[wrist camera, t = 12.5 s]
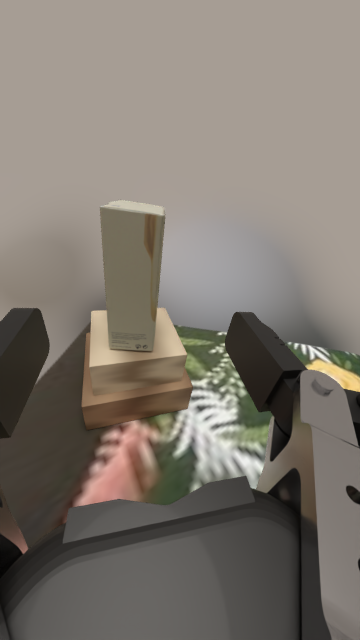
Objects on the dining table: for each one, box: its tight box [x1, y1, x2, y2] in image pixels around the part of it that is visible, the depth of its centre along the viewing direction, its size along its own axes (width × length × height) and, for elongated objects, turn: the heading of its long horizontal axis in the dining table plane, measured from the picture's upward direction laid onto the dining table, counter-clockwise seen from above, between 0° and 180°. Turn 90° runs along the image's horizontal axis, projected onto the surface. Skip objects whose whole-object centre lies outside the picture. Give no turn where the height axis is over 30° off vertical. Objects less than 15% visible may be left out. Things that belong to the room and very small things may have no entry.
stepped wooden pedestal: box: [82, 308, 193, 430], centre depth 25 cm, size 11×11×8 cm
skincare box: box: [100, 200, 165, 351], centre depth 19 cm, size 6×4×12 cm
